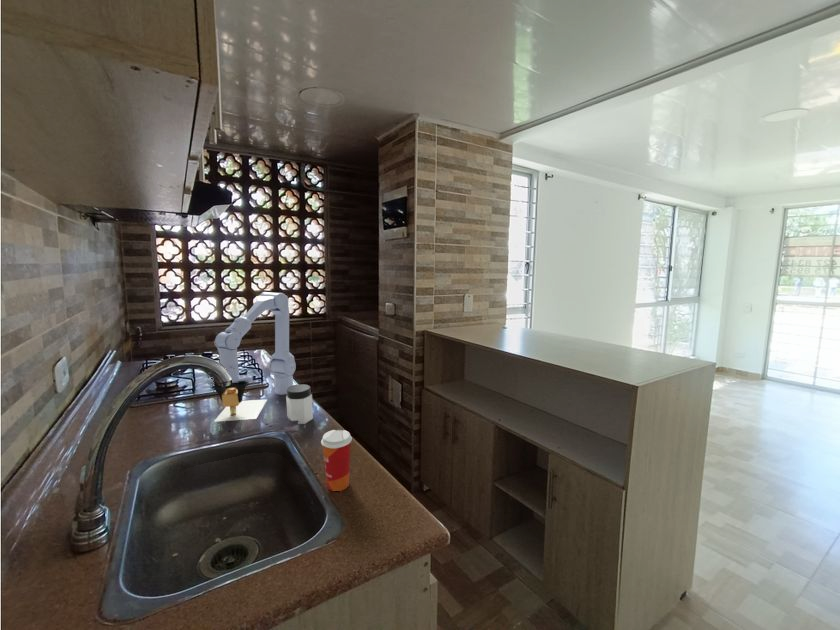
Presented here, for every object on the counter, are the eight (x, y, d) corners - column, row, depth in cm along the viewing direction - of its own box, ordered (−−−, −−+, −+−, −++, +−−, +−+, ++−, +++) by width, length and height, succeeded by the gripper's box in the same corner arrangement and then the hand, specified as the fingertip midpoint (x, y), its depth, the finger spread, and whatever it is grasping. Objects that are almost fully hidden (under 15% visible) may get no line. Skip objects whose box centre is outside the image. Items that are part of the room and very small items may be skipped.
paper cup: (327, 476, 102) (325, 428, 99) (355, 477, 102) (354, 428, 99) (319, 494, 94) (316, 442, 92) (349, 495, 94) (347, 443, 92)
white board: (230, 405, 149) (230, 401, 148) (267, 402, 151) (267, 399, 151) (214, 425, 131) (213, 421, 131) (256, 422, 133) (256, 418, 133)
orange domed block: (227, 401, 138) (226, 387, 137) (241, 400, 139) (240, 386, 138) (222, 406, 133) (221, 392, 132) (237, 405, 134) (236, 391, 133)
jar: (285, 425, 131) (283, 393, 129) (289, 415, 139) (288, 384, 137) (311, 424, 133) (309, 391, 131) (314, 414, 141) (313, 383, 139)
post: (231, 413, 137) (230, 404, 137) (237, 413, 138) (236, 404, 137) (229, 415, 135) (228, 406, 135) (235, 415, 136) (234, 406, 135)
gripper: (202, 370, 128) (206, 407, 131) (247, 368, 131) (250, 404, 133) (210, 364, 135) (213, 399, 137) (253, 362, 138) (255, 397, 140)
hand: (232, 401), depth 136 cm, fingers closed on orange domed block, 5 cm apart
